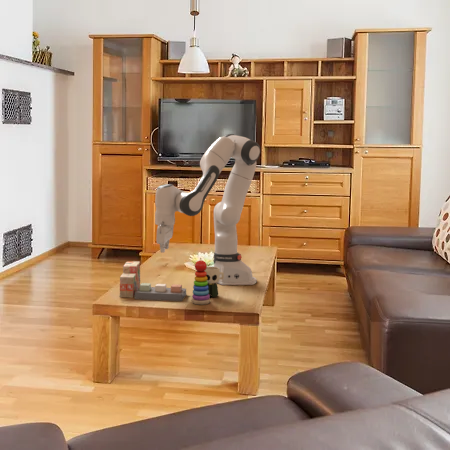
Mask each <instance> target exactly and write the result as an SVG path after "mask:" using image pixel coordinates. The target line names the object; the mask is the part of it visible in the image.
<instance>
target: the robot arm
mask: <svg viewBox="0 0 450 450" xmlns="http://www.w3.org/2000/svg"><path fill="white" fill-rule="evenodd" d="M260 156H261V146H260V144H259V143H258V142H257V141H255V140H254V139H250V138H248V137H245V136H241V135H236V134H233V133H228V134H225V135H224V136H219V138H217V139H216V140H214V142H213V143H212V144H210V146H209V147H208V148H207V150H206V151H205V152H204V154H203V155H202V156H201V159H200V161H199V167H200V169H201V171H202V176H201V178H200V180H199V182H198V183H197V185H196V186H195V187H194V189H193V190H192V191H190V192H188V191H184V190H181V189H179V188H177V187H176V186H175V185H174V184H173V183H169V184H168V183H166V184H161V185H159V186H158V187H157V188H156V190H155V196H154V199H155V200H154V204H155V212H154V224H155V225H157V229H156V244H158V245H159V250H160V251H159V252H160V253H165V252H166V250H168V249H169V247H170V245H169V244H170V239H172V238H173V235H174V227H175V226H174V225H175V224H176V217H175V216H176V215H175V213H176V212H179V213H181V214H184V215H186V216H189V217H194V216H197V215H199V213H201V211H202V209H203V207H204V204H205V201H206V199H207V197H208V195H209V194H210V192H211V190H212V189H213V187H214V186H215V184H216V182H217V180H218V178H219V176H220V174H221V172H222V170H223V169H224V168H225V167H226V165H227V164H228V163H229V161H230V159H231V158H232V159H234V160H235V161H234V165H233V166H232V168H231V171H230V173H229V177H228V179H227V181H226V183H225V187H224V191H223V195H222V198H221V201H220V202H217V203H216V204H215V206H214V208H213V228H214V252H213V267H218V268H220V272H223V273H224V279H219V282H217V283H216V284H219V285H223V286H232V285H233V286H234V285H235V286H245V285H247V286H249V285H250V286H251V285H255V284H256V283H257V282H258V281H257V277H255V276H253V272H252V268H251V267H250V266H249V265H247V264H246V263H245V262H244V261H243V260H242V254H241V253H239V252H238V233H237V232H238V230H237V224H238V223H239V222H240V220H241V214H242V212H243V208H244V205H245V201H246V196H247V194H248V191H249V189H250V186H251V184H252V181H253V179H254V175H255V173H256V169H257V168H256V167H257V161H258V159H259V158H260ZM220 277H222V274H220Z"/></svg>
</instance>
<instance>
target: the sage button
mask: <svg viewBox="0 0 450 450" xmlns="http://www.w3.org/2000/svg"><path fill="white" fill-rule="evenodd" d="M151 287H152V283H149V282H140V291H150V290H151Z"/></svg>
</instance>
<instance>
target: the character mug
mask: <svg viewBox="0 0 450 450" xmlns="http://www.w3.org/2000/svg"><path fill="white" fill-rule="evenodd" d="M205 272H206V273H207V275H206V276H207V282H208V284H207V285H208V290H209V293H208V294H209V295H210V296H211V298H214V297H215V298H216V297H218V296H219V287H218V283H217V282H219V279H224V273H223V272H220V268H218V267H214V266H207V268H206V270H205ZM220 274H222V277H220Z"/></svg>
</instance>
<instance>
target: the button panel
mask: <svg viewBox="0 0 450 450" xmlns="http://www.w3.org/2000/svg"><path fill="white" fill-rule="evenodd" d="M186 296H187V288H185V287H184V288H183V287H182V292H181V293H176V292H171V287H166V292H155V286H153V287H152V286H151V290H150V291H140V288H139V289H138V290H137V291H136V292H135V295H134V300H148V301H149V300H150V301H168V302H169V301H173V302H183V300H184V299H185V298H186Z"/></svg>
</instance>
